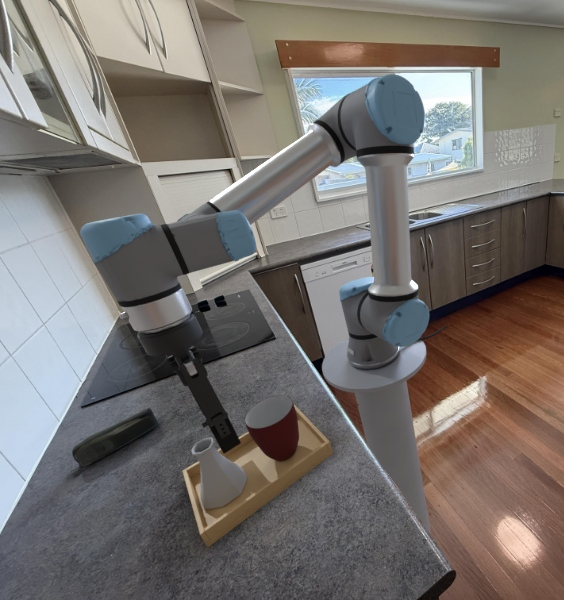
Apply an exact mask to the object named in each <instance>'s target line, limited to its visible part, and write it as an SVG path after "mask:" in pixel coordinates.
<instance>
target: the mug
mask: <svg viewBox="0 0 564 600" xmlns="http://www.w3.org/2000/svg"><path fill="white" fill-rule="evenodd" d="M294 405H295V404H294V402H293V399H292V398H291V397H289V396H288V395H283V394H282V395H281V394H279V395H273V396H269V397H266V398H265V399H262V400H260V401H259V402H257V403H256V404H254V405H253V406H252V407H251V408H250V409H249V410H248V411H247V413H246V415H245V417H244V425H245V427H246V429H247V432H249V434H250V436H251V437H252V439H253V440H254V441H255V443H256V444H257V445H258V447H259V448H260V449H261V450H262V452H263V453H264V454H265V455H266V456H268V457H269V458H271V459H274V460H276V461H285V460H288V459H289V458H291V457H292V456H293V455H294V453H295V451H296V449H297V445H298V441H299V428H298V419H297V413H296V409H295V407H294Z"/></svg>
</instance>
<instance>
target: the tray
mask: <svg viewBox="0 0 564 600" xmlns="http://www.w3.org/2000/svg"><path fill="white" fill-rule="evenodd" d="M294 407H295V409H296V413H297V419H298V428H299V441H298V445H297V449H296V451H295V453H294V455H293V456H292V457H291V458H289V459H288V460H285V461H276V460H274V459H271V458H269V457H268V456H266V455H265V454H264V453H263V452H262V450H261V449H260V448H259V447H258V445H257V444H256V443H255V441H254V440H253V439H252V437H251V436H250V434H249V432H248V431H247V432H245V433H244V434H242V435H240V436H238V438H239V440H240V442H241V443H240V444H239V445H237V446H236V447H234V448H233V449H231V450H230V451H228V452H226V453H225V454H223V452H222V450H221V448H220V447H219V448H218V449H216V450H217V451H218V452H219V453H220V454H221V455H223V456H224V457H226V458H227V459H229V460H230V461H232V462H233V463H235V464H237V465H239V466H240V467H242V468H243V470H244V472H245V474H246V476H247V480H246V483H245V485H244V488H243V490H242V493H241V494H240V495H239V496H237V497H236V498H234V499H233V500H231V501H230V502H229V503H227V504H226V505H224V506H223V507H218V508H212V509H207V510H204V507H203V504H202V501H201V471H200V464H199V461H198V460H197V462H195V463H193V464H191V465H189V466H188V467H186V468H184V469H183V470H182V471H181V472H182V475H183V479H184V482H185V486H186V490H187V493H188V496H189V500H190V502H191V507H192V512H193V514H194V519H195V522H196V525H197V529H198V533H199V535H200V537H201V539H202V540H203V542H204V544H205V545H206V547H207V548H210V546H213V544H215V543H216V542H218V541H219V540H220V539H221V538H223V537H224V536H225V535H227V534H228V533H229V532H231V531H233V530H234V529H235V528H236V527H237V526H239V525H240V524H241V523H243V522H244V521H245V520H247V519H248V518H249V517H251V516H252V515H254V514H255V513H256V512H257V511H259V510H260V509H261V508H263V507H264V506H266V505H267V504H268V503H269V502H271V501H272V500H274V499H275V498H276V497H277V496H279V495H280V494H282V493H283V492H284V491H285V490H287V489H288V488H289V487H291V486H292V485H294V484H295V483H296V482H298V481H299V480H300V479H301V478H303V477H304V476H305V475H307V474H308V473H309V472H311V471H312V470H314V469H315V468H316V467H317V466H319V465H320V464H322V463H323V462H325V460H327V459H329V457H331V456H332V455H334V451H333V448H332V446H331V445H332V444H331V442H330V440H329V439H328V438H327V437H326V436H325V435H324V434H323V433H322V431H320V430H319V429H318V428H317V427H316V426H315V424H314V423H313V422H312V421H311V420H309V418H308V417H307V416H306V415H305V414H304V413H303V412H302V411H301V410H300V408H299V407H297V406H296V405H295V404H294Z"/></svg>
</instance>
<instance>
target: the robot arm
mask: <svg viewBox="0 0 564 600" xmlns="http://www.w3.org/2000/svg"><path fill="white" fill-rule="evenodd" d="M425 125H426V112H425V106H424V103H423V100H422V98H421V96H420V93H419V92H418V91H417V90H416V89H415V87H414V85H413V84H412V83H411V82H410V81H409V80H408V79H407V78H405V77H404V76H402V75H399V74H395V73H394V74H393V73H389V74H385V75H383V76H377V77H375V78H373V79H371V80H370V81H369V82H368V83H366V84H365V85H363V86H361V87H359V88H358V89H355V90H354V91H352V92H349V93H347V94H346V95H344V96H342V97H341V98H340V99H339V100H337V102H336V103H334V104H333V105H332V106H331V107H330V108H329V109H328V110H327V111H325V112H324V113H323V114H322V115H321V116H320V117H319V118H317V119H316V120H315V121H313V122H312V123H310V124H308V126H307V133H306V134H304V135H303V136H301V137H300V138H298V139H297V140H295V141H294V142H292V143H291V144H289V145H288V146H286V147H285V148H283V149H282V150H280V151H279V152H278V153H276V154H275V155H273V156H272V157H270V158H269V159H267V160H266V161H264V162H263V163H262V164H260V165H259V166H257V167H256V168H254V169H253V170H251V171H250V172H248V173H247V174H245V175H244V176H242V177H241V178H240V179H238V180H236V181H235V182H233V183H232V184H231V185H229V186H228V187H227V188H225V189H224V190H222V191H220V192H219V193H218V194H216V195H215V196H213V197H212V198H210V199H209V200H208V201H207V202H205V203H204V204H201V205H200V206H199V207H197V208H196V209H194V210H193V211H192V212H190V213H185V214H184V215H182V216H181V217H180V218H179V219H177V220H176V221H174V222H170V223H164V224H154V223H153V222H152V221H151V219H150V217H148V215H146V214H145V213H134V214H128V215H124V216H123V215H122V216H118V217H112V218H111V217H110V218H107V219H100V220H96V221H91V222H87V223H85V224H83V225H82V226H81V228H80V231H79V234H80V237H81V238H82V240H83V243H84V245H85V247H86V249H87V251H88V253H89V255H90V256H91V258H92V262H93V264H94V266H95V267H96V268H97V271H98V272H99V274H100V275H101V277H102V278H103V280H104V282H105V284H106V285H107V287H108V288H109V290H110V292H111V293H112V295H113V297H114V299H115V301H116V302H117V303H118V306H120V309H121V310H122V312H120V313H119V315H118V316H119V318H120V320H127V319H128V323H129V324H130V325H131V327H132V329H133V330H134V331H135V332H138V333H137V335H136V337H137V339H138V341H139V342H140V344H141V346H142V347H143V349H144V351H145V354H147V355H148V356H150V357H154V358H155V357H157V358H158V357H164V356H167V357H166V359H167V361H168V363H169V365H170V367H171V370H172V371H173V372H174V373H175V374H176V375H177V376H178V378H179V379H180V382H181V383H182V385H183V386H184V387H188V389H189V391H190V393H191V394H192V396H193V398H194V400H195V402H196V404H197V406H198V408H199V409H200V412H201V413H202V415H203V416H204V418H205V421H204V422H202V423H201V425H202V427H203V429H204V428H206V427H208V428H209V430H210V431H211V433H212V435H213V437H214V439H215V440H216V442H217V444H218V446H219V449H220V448H221V450H222V452H223V454H225V453H226V452H228V451H230V450H231V449H233V448H234V447H236V446H237V445H239V444H240V443H241V442H240V440H239V438H238V437H239V436H238V434H237V431H236V430H235V428H234V425H233V423H232V422H231V420H230V418H229V414H228V412H227V411H226V410H225V408H224V406H223V404H222V403H221V400H220V399H219V397H218V394H217V393H216V391H215V389H214V387H213V385H212V384H211V382H210V380H209V378H208V376H209V373H208V371H207V369H206V367H205V365H204V363H203V358H202V356H201V354H200V352H199V350H197V348H196V346H195V345H194V344H195V343H197V342H198V341H199V340H201V338H202V336H203V329H202V327H201V325H200V322H199V321H198V318H197V317H196V314H193V313H192V312H193V307H192V305H191V303H190V301H189V299H188V296H187V294H186V293H185V291H184V287H183V286H181V282H179V278H178V277H180V276H185V275H189V274H191V273H195V272H198V271H202V270H205V269H206V270H207V269H209V268H213V267H217V266H220V265H224V264H228V263H231V262H238V261H240V260H241V259H244V258H247V257H250V256H252V255H254V254H255V253H256V251H257V242H256V236H255V234H254V231H253V229H252V225H253V224H254V223H256V222H257V221H258V220H259V219H261V218H262V217H264V216H265V215H267V213H269V212H271V211H272V210H274V208H276V207H277V206H278V205H280V204H281V203H282V202H284V201H285V200H287V198H289V197H291V196H292V195H293V194H294V193H296V192H297V191H299V190H301V188H302V187H304V186H305V185H306V184H308V183H309V182H310V181H312V180H313V179H314V178H316V177H317V176H319V175H320V174H321V173H323V172H324V171H326V170H327V169H328V168H329V167H332V168H338V167H339V166H340V165H342V164H343V163H345V162H346V161H348V160H350V159H353V158H355V157H356V161H357V162H358V163H359V164H360V165H361V166H362V167H363V168H364V171H365V182H366V183H365V184H366V195H367V196H366V197H367V209H368V222H369V235H370V247H371V259H372V261H371V262H372V273H373V274H372V275H373V276H366V277H361V278H358V279H357V278H356V279H354V280H351V281H349V282H346V283H345V284H342V286H341V287H340V288H339V293H338V294H339V301H340V303H341V309H342V312H343V315H344V316H343V317H344V320H345V325H346V328H347V333H348V338H349V343H348V346H347V357H348V362H349V364H350V365H351V366H352V367H354V368H356V369H359V370H376V369H380V368H383V367H385V366H388V365H389V364H391V363H393V362H394V361H395V360H396V359H397V358H398V356H399V354H400V348H399V347H405V346H409V345H411V344H413V343H414V342H416V341H419V340H422V341H423V340H427V339H430V338H433V337H435V336H437V335H438V334H440V333H441V332H442V331H444V330H445V329H446V328H447V326H446V325H444V326H442V327H441V328H440V329H438V330H437V331H436V332H434V333H432V334H429V335H426V336H422V335H423V334H424V333H425V332H426V329H427V327H428V325H429V320H430V311H429V307H428V305H426V303H425V301H423V300H420V299H419V298H420V296H419V285H418V283H416V282H415V281H414V280H413V278H412V260H411V237H410V236H411V235H410V233H411V232H410V213H409V211H410V210H409V209H410V207H409V184H408V183H409V181H408V167H409V164H410V163H411V162H412V160H414V158H415V143H416V142H417V141H418V140H419V139H420V138H421V136H422V135H421V134H423V132H424V130H425ZM168 355H170V356H168Z"/></svg>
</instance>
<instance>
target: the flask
mask: <svg viewBox="0 0 564 600" xmlns="http://www.w3.org/2000/svg"><path fill="white" fill-rule="evenodd" d="M215 445H216V443H215V441H214V438H213V436H212V437H206V438H205V437H204V438H203V439H201V440H199V441H197V442H195V443H194V444H193V446H192V448H191V449H190V451H191V455H192V457H195V458H196V459H197V462H198V461H199V464H200V471H201V501H202V504H203V507H204V510H207V509H212V508H218V507H223V506H224V505H226V504H227V503H229V502H230V501H231V500H233V499H234V498H236V497H237V496H239V495H240V494H241V493H242V490H243V488H244V485H245V483H246V480H247V476H246V474H245V472H244V470H243V468H242V467H240V466H239V465H237V464H235V463H233V462H232V461H230V460H229V459H227V458H226V457H224V456H223V455H221V454H220V453H219V452H218V451H217V450H218V449H217V448H216V446H215Z"/></svg>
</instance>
